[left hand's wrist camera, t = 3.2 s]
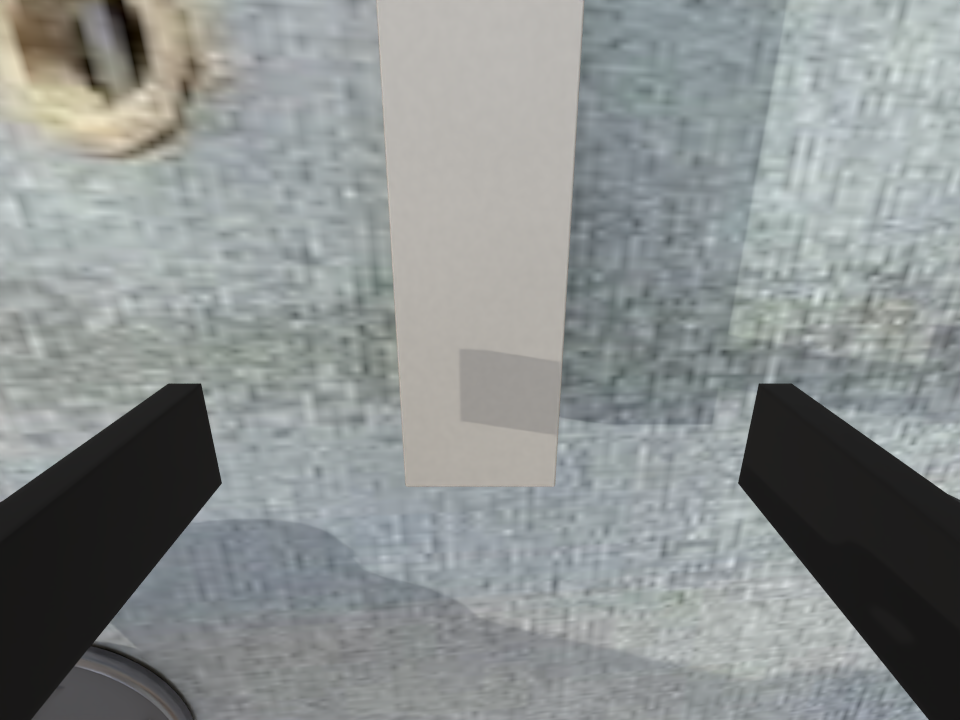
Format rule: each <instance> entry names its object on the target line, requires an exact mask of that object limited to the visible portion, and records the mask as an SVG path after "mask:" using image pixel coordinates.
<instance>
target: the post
mask: <svg viewBox="0 0 960 720" xmlns="http://www.w3.org/2000/svg"><path fill="white" fill-rule="evenodd" d="M376 3H377V20H378V37H379V53H380V70H381V86H382V103H383V120H384V136H385V153H386V169H387V186H388V203H389V219H390V236H391V252H392V269H393V286H394V302H395V319H396V335H397V352H398V369H399V385H400V402H401V418H402V435H403V452H404V468H405V485H406V486H407V487H554V486H555V477H556V461H557V444H558V428H559V411H560V395H561V378H562V362H563V345H564V329H565V312H566V296H567V279H568V263H569V246H570V230H571V213H572V197H573V180H574V164H575V147H576V131H577V114H578V98H579V81H580V65H581V48H582V32H583V15H584V0H376Z"/></svg>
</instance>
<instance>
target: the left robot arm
mask: <svg viewBox="0 0 960 720" xmlns="http://www.w3.org/2000/svg"><path fill="white" fill-rule="evenodd" d="M221 484H222V482H221V477H220V472H219V467H218V463H217V458H216V453H215V448H214V443H213V439H212V434H211V429H210V424H209V419H208V415H207V410H206V405H205V400H204V395H203V391H202V386H201V384H167V385H166V386H164V387H163V388H162V389H160V390H159V391H157V392H156V393H155V394H153V395H152V396H150V397H149V398H148V399H146V400H145V401H143V402H142V403H140V404H139V405H138V406H136V407H135V408H133V409H132V410H131V411H129V412H128V413H126V414H125V415H124V416H122V417H121V418H119V419H118V420H116V421H115V422H114V423H112V424H111V425H109V426H108V427H107V428H105V429H104V430H102V431H101V432H100V433H98V434H97V435H95V436H94V437H92V438H91V439H90V440H88V441H87V442H85V443H84V444H83V445H81V446H80V447H78V448H77V449H76V450H74V451H73V452H71V453H70V454H68V455H67V456H66V457H64V458H63V459H61V460H60V461H59V462H57V463H56V464H54V465H53V466H52V467H50V468H49V469H47V470H46V471H44V472H43V473H42V474H40V475H39V476H37V477H36V478H35V479H33V480H32V481H30V482H29V483H27V484H26V485H25V486H23V487H22V488H20V489H19V490H18V491H16V492H15V493H13V494H12V495H11V496H9V497H8V498H6V499H5V500H3V501H2V502H0V720H193V718H192V715H191V713H190V711H189V710H188V708H187V706H186V705H185V703H184V702H183V700H182V699H181V698H180V697H179V695H178V694H177V693H176V692H175V691H174V690H173V689H172V688H171V687H170V686H169V685H168V684H167V683H165V682H164V681H163V680H162V679H161V678H159V677H158V676H157V675H155V674H154V673H152V672H151V671H149V670H148V669H146V668H144V667H143V666H141V665H139V664H137V663H136V662H134V661H132V660H129V659H127V658H125V657H123V656H120V655H118V654H115V653H112V652H110V651H107V650H103V649H100V648H96V647H92V646H91V645H92V644H93V642H94V641H95V640H96V639H97V637H98V636H99V635H100V634H101V633H102V631H103V630H104V629H105V628H106V626H107V625H108V624H109V623H110V621H111V620H112V619H113V618H114V616H115V615H116V614H117V613H118V611H119V610H120V609H121V608H122V606H123V605H124V604H125V603H126V601H127V600H128V599H129V598H130V597H131V595H132V594H133V593H134V592H135V590H136V589H137V588H138V587H139V585H140V584H141V583H142V582H143V580H144V579H145V578H146V577H147V575H148V574H149V573H150V572H151V570H152V569H153V568H154V567H155V566H156V564H157V563H158V562H159V561H160V559H161V558H162V557H163V556H164V554H165V553H166V552H167V551H168V549H169V548H170V547H171V546H172V544H173V543H174V542H175V541H176V539H177V538H178V537H179V536H180V535H181V533H182V532H183V531H184V530H185V528H186V527H187V526H188V525H189V523H190V522H191V521H192V520H193V518H194V517H195V516H196V515H197V513H198V512H199V511H200V510H201V508H202V507H203V506H204V505H205V504H206V502H207V501H208V500H209V499H210V497H211V496H212V495H213V494H214V492H215V491H216V490H217V489H218V487H219V486H220V485H221ZM738 484H739V485H740V486H741V487H742V489H743V490H744V491H745V492H746V494H747V495H748V496H749V497H750V499H751V500H752V501H753V502H754V504H755V505H756V506H757V507H758V508H759V510H760V511H761V512H762V513H763V515H764V516H765V517H766V518H767V520H768V521H769V522H770V523H771V525H772V526H773V527H774V528H775V530H776V531H777V532H778V533H779V535H780V536H781V537H782V538H783V539H784V541H785V542H786V543H787V544H788V546H789V547H790V548H791V549H792V551H793V552H794V553H795V554H796V556H797V557H798V558H799V559H800V561H801V562H802V563H803V564H804V566H805V567H806V568H807V569H808V570H809V572H810V573H811V574H812V575H813V577H814V578H815V579H816V580H817V582H818V583H819V584H820V585H821V587H822V588H823V589H824V590H825V592H826V593H827V594H828V595H829V597H830V598H831V599H832V600H833V601H834V603H835V604H836V605H837V606H838V608H839V609H840V610H841V611H842V613H843V614H844V615H845V616H846V618H847V619H848V620H849V621H850V623H851V624H852V625H853V626H854V628H855V629H856V630H857V631H858V633H859V634H860V635H861V636H862V637H863V639H864V640H865V641H866V642H867V644H868V645H869V646H870V647H871V649H872V650H873V651H874V652H875V654H876V655H877V656H878V657H879V659H880V660H881V661H882V662H883V664H884V665H885V666H886V667H887V668H888V670H889V671H890V672H891V673H892V675H893V676H894V677H895V678H896V680H897V681H898V682H899V683H900V685H901V686H902V687H903V688H904V690H905V691H906V692H907V693H908V695H909V696H910V697H911V698H912V699H913V701H914V702H915V703H916V704H917V706H918V707H919V708H920V709H921V711H922V712H923V713H924V714H925V716H926V717H927V718H928V719H929V720H960V500H959V499H957V498H955V497H953V496H951V495H948V494H947V493H945V492H944V491H942V490H941V489H940V488H938V487H937V486H935V485H934V484H933V483H931V482H930V481H928V480H927V479H925V478H924V477H923V476H921V475H920V474H918V473H917V472H916V471H914V470H913V469H911V468H910V467H908V466H907V465H906V464H904V463H903V462H901V461H900V460H899V459H897V458H896V457H894V456H893V455H892V454H890V453H889V452H887V451H886V450H884V449H883V448H882V447H880V446H879V445H877V444H876V443H875V442H873V441H872V440H870V439H869V438H868V437H866V436H865V435H863V434H862V433H860V432H859V431H858V430H856V429H855V428H853V427H852V426H851V425H849V424H848V423H846V422H845V421H844V420H842V419H841V418H839V417H838V416H836V415H835V414H834V413H832V412H831V411H829V410H828V409H827V408H825V407H824V406H822V405H821V404H820V403H818V402H817V401H815V400H814V399H812V398H811V397H810V396H808V395H807V394H805V393H804V392H803V391H801V390H800V389H798V388H797V387H796V386H794V385H793V384H759V386H758V391H757V395H756V400H755V405H754V410H753V415H752V419H751V424H750V429H749V434H748V439H747V443H746V448H745V453H744V458H743V463H742V467H741V472H740V477H739V482H738Z"/></svg>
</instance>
